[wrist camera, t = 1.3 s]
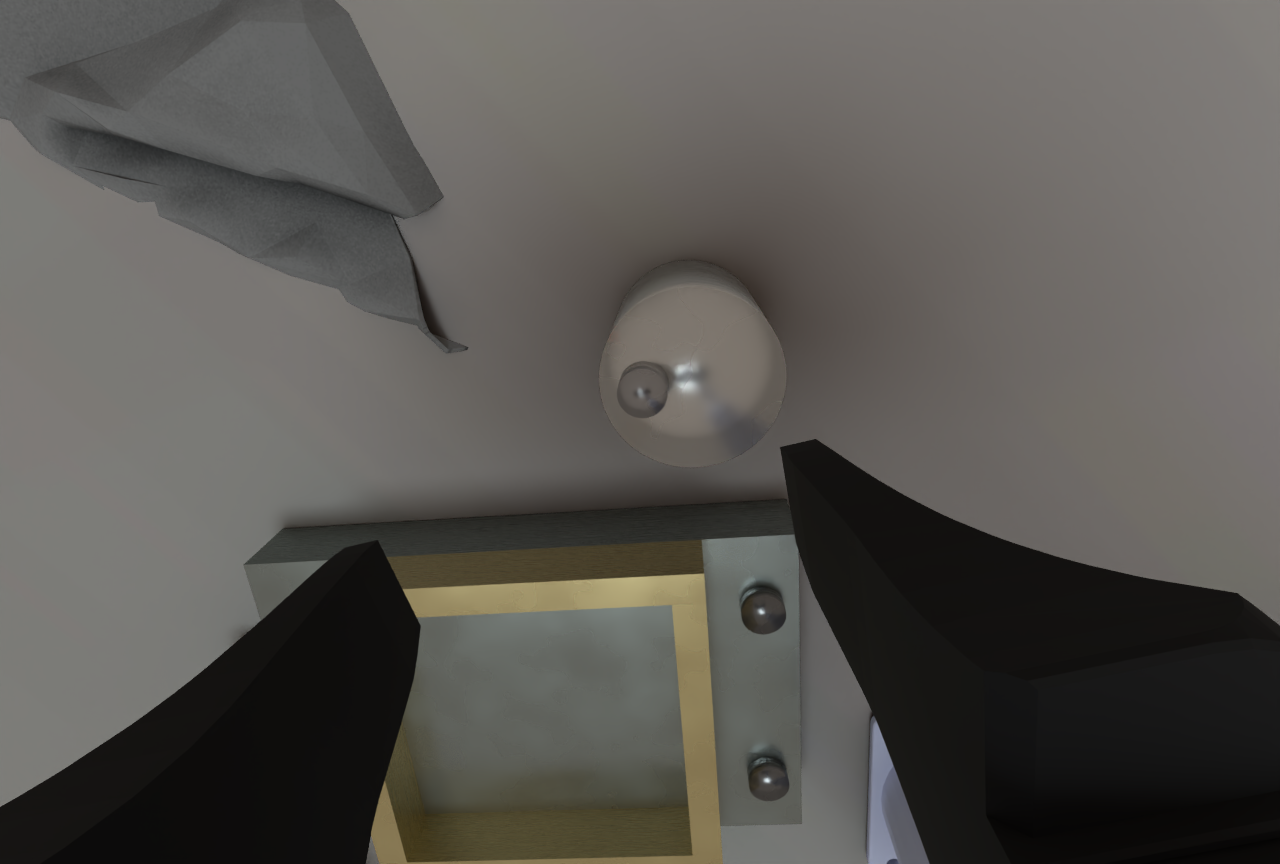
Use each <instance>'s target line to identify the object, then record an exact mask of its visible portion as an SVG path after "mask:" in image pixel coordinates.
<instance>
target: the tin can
mask: <svg viewBox="0 0 1280 864" xmlns="http://www.w3.org/2000/svg"><path fill="white" fill-rule="evenodd" d="M786 380H787V372H786V362H785V357H784V353H783V350H782V347H781V344H780V342H779V339H778V337H777V336H776V334H775V332H774V330H773V328H772V327H771V325H770V324H769V322H768V320H767V319H766V317H765V316H764V314H763V313H762V311H761V309H760V308H759V306H758V305H757V303H756V302H755V300H754V298H753V297H752V295H751V294H750V292H749V291H748V289H747V288H746V287H745V285H744V284H743V283H742V282H741V281H740V280H739V279H738V278H737V277H735V276H734V275H733V274H732V273H730V272H729V271H727V270H725V269H724V268H722V267H720V266H717V265H715V264H712V263H708V262H704V261H698V260H680V261H674V262H670V263H667V264H663V265H661V266H659V267H657V268H655V269H653V270H651V271H650V272H648V273H646V274H645V275H644V276H643V277H641V278H640V279H639V280H638V281H637V282H636V283H635V284H634V285H633V286H632V288H631V289H630V290H629V292H628V293H627V295H626V297H625V298H624V300H623V302H622V304H621V307H620V310H619V312H618V315H617V317H616V320H615V322H614V325H613V327H612V330H611V332H610V335H609V337H608V340H607V343H606V345H605V348H604V350H603V353H602V358H601V362H600V369H599V389H600V395H601V400H602V403H603V406H604V409H605V412H606V414H607V416H608V418H609V420H610V422H611V423H612V425H613V427H614V428H615V430H616V431H617V432H618V433H619V435H620V436H621V437H622V438H623V439H624V440H625V441H626V442H627V443H628V444H629V445H630V446H631V447H633V448H634V449H635V450H637V451H638V452H640V453H641V454H643V455H645V456H647V457H649V458H651V459H653V460H655V461H658V462H660V463H663V464H667V465H671V466H677V467H685V468H698V467H706V466H712V465H716V464H720V463H723V462H725V461H728V460H731V459H733V458H735V457H737V456H739V455H741V454H742V453H744V452H745V451H747V450H748V449H750V448H751V447H752V446H753V445H755V444H756V443H757V442H758V441H759V440H760V439H761V438H762V437H763V436H764V435H765V433H766V432H767V431H768V430H769V428H770V427H771V425H772V424H773V422H774V421H775V419H776V417H777V415H778V413H779V411H780V409H781V406H782V403H783V399H784V395H785V390H786Z"/></svg>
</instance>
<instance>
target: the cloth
mask: <svg viewBox="0 0 1280 864" xmlns="http://www.w3.org/2000/svg"><path fill="white" fill-rule="evenodd" d="M0 118H2V119H6V120H10V121H11V122H12V123H13V124H14V125H15V127H16V128H17V129H18V130H19V131H20V132H21V134H22V135H23V136H24V137H25V138H26V139H27V141H28V142H29V143H30V144H31V145H32V146H33V147H34V148H35V149H36V150H37V151H38V152H39V153H41V154H42V155H44V156H46V157H47V158H49V159H51V160H53V161H54V162H56V163H58V164H60V165H61V166H63V167H65V168H67V169H68V170H70V171H72V172H74V173H75V174H77V175H79V176H81V177H82V178H84V179H86V180H88V181H89V182H91V183H93V184H95V185H96V186H98V187H100V188H102V189H103V190H104V188H103V186H104V187H106V188H108V189H111V190H113V191H115V192H117V193H119V194H121V195H124V196H126V197H128V198H130V199H132V200H134V201H137V202H153V201H155V203H156V207H157V210H158V214H159V216H160V217H162V218H165V219H167V220H169V221H172V222H174V223H176V224H179V225H181V226H183V227H185V228H188V229H190V230H192V231H195V232H197V233H199V234H202V235H204V236H206V237H208V238H211V239H213V240H215V241H218V242H220V243H221V244H223V245H225V246H227V247H228V248H230V249H232V250H233V251H235V252H237V253H239V254H241V255H243V256H246V257H248V258H251V259H253V260H255V261H258V262H260V263H262V264H265V265H267V266H269V267H272V268H274V269H276V270H279V271H281V272H283V273H285V274H288V275H290V276H294V277H297V278H301V279H304V280H308V281H311V282H315V283H318V284H322V285H326V286H329V287H333V288H336V289H339V290H340V292H341V293H342V295H343V296H344V298H345V299H346V301H347V302H349V303H350V304H352V305H354V306H356V307H358V308H360V309H362V310H364V311H366V312H369V313H373V314H376V315H379V316H383V317H386V318H389V319H393V320H397V321H401V322H405V323H409V324H413V325H417V326H418V328H419V329H420V330H421V331H422V332H423V333H424V334H425V335H426V336H427V337H428V338H430V339H431V340H432V341H433V342H434V343H435V344H436V345H437V346H438V347H439V348H441V349H442V350H443V351H444V352H445V353H452V352H458V351H464V350H467V349H468V347H466V346H463V345H461V344H458V343H456V342H453V341H450V340H448V339H445V338H443V337H440V336H437V335H435V334H432V333H431V332H430V331H429V329H428V327H427V325H426V322H425V320H424V317H423V312H422V307H421V302H420V297H419V292H418V287H417V282H416V277H415V272H414V267H413V262H412V258H411V256H410V253H409V251H408V249H407V246H406V244H405V242H404V240H403V237H402V235H401V233H400V231H399V229H398V227H397V225H396V222H395V220H394V218H393V216H392V215H394V216H397V217H400V218H403V219H405V218H409V217H413V216H416V215H418V214H420V213H421V212H423V211H424V210H426V209H427V208H428V207H430V206H431V205H433V204H434V203H436V202H437V201H439V200H440V199H441V198H443V197H444V196H443V194H442V193H441V191H440V189H439V187H438V185H437V184H436V182H435V180H434V178H433V177H432V175H431V173H430V171H429V169H428V168H427V166H426V164H425V162H424V161H423V159H422V158H421V156H420V154H419V153H418V151H417V150H416V148H415V146H414V145H413V143H412V141H411V139H410V137H409V135H408V133H407V131H406V129H405V127H404V125H403V123H402V121H401V119H400V117H399V115H398V113H397V111H396V109H395V107H394V105H393V103H392V100H391V98H390V96H389V94H388V92H387V90H386V88H385V86H384V84H383V82H382V80H381V78H380V76H379V74H378V72H377V70H376V68H375V66H374V64H373V62H372V60H371V57H370V55H369V53H368V51H367V49H366V47H365V45H364V43H363V41H362V39H361V37H360V35H359V33H358V31H357V29H356V27H355V25H354V23H353V21H352V19H351V17H350V15H349V13H348V12H347V11H346V10H345V9H344V8H343V7H341V6H340V5H339V4H338V3H337V2H336V1H335V0H0Z"/></svg>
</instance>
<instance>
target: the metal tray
mask: <svg viewBox="0 0 1280 864" xmlns="http://www.w3.org/2000/svg"><path fill="white" fill-rule="evenodd" d="M375 540H378V541H379V543H380V545H381V547H382V549H383V551H384V553H385V555H386V557H387V559H388V561H389V563H390V565H391V567H392V569H393V571H394V573H395V575H396V577H397V579H398V581H399V583H400V585H401V587H402V589H403V591H404V593H405V595H406V597H407V599H408V601H409V603H410V605H411V607H412V609H413V611H414V613H415V615H416V617H417V619H418V621H419V623H420V625H421V630H420V638H419V647H418V655H417V662H416V668H415V675H414V680H413V684H412V687H411V691H410V695H409V698H408V702H407V705H406V709H405V712H404V716H403V719H402V723H401V726H400V730H399V733H398V737H397V740H396V743H395V747H394V750H393V753H392V757H391V760H390V764H389V767H388V771H387V774H386V777H385V781H384V784H383V788H382V791H381V794H380V798H379V802H378V806H377V810H376V814H375V818H374V822H373V826H372V831H371V836H372V840H373V843H374V847H375V850H376V853H377V857H378V860H379V864H723V862H722V846H721V830H720V826H741V825H778V824H802V807H801V719H800V630H799V550H798V547H797V545H796V540H795V534H794V528H793V522H792V516H791V511H790V508H789V506H788V503H787V500H786V499H784V500H767V501H750V502H733V503H715V504H698V505H681V506H664V507H647V508H630V509H613V510H596V511H579V512H562V513H545V514H528V515H511V516H494V517H477V518H460V519H442V520H425V521H408V522H391V523H374V524H357V525H340V526H323V527H306V528H289V529H282V530H281V531H280V532H279V533H278V534H277V535H275V536H274V537H273V538H272V539H271V540H270V541H269V542H268V543H267V544H266V545H265V546H263V547H262V548H261V549H260V550H259V551H258V552H257V553H256V554H255V555H254V556H253V557H252V558H250V559H249V560H248V561H247V562H246V563H245V564H244V568H245V571H246V574H247V578H248V581H249V584H250V587H251V590H252V593H253V597H254V600H255V603H256V606H257V609H258V612H259V616H260V619H261V620H262V619H263V618H265V617H266V616H267V615H268V614H269V613H270V612H271V611H272V610H273V609H274V608H276V607H277V606H278V605H279V604H280V603H281V602H282V601H283V600H284V599H285V598H286V597H288V596H289V595H290V594H291V593H292V592H293V591H294V590H295V589H296V588H297V587H299V586H300V585H301V584H302V583H303V582H304V581H305V580H306V579H307V578H309V577H310V576H311V575H312V574H313V573H314V572H315V571H316V570H318V569H319V568H320V567H321V566H322V565H323V564H324V563H326V562H327V561H328V560H329V559H330V558H332V557H333V556H334V555H335V554H337V553H338V552H340V551H341V550H342V549H344V548H345V547H349V546H353V545H358V544H362V543H366V542H371V541H375Z"/></svg>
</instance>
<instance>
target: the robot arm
mask: <svg viewBox="0 0 1280 864" xmlns="http://www.w3.org/2000/svg"><path fill="white" fill-rule="evenodd" d="M780 449H781V455H782V461H783V467H784V473H785V479H786V485H787V492H788V498H789V504H790V510H791V516H792V522H793V528H794V534H795V540H796V545H797V547H798V550H799V553H800V556H801V559H802V562H803V565H804V568H805V571H806V573H807V576H808V579H809V582H810V585H811V587H812V590H813V593H814V595H815V597H816V599H817V601H818V603H819V605H820V607H821V609H822V611H823V613H824V615H825V617H826V619H827V621H828V623H829V625H830V627H831V629H832V631H833V633H834V635H835V637H836V639H837V641H838V643H839V645H840V647H841V649H842V651H843V653H844V655H845V657H846V659H847V661H848V663H849V665H850V667H851V669H852V671H853V673H854V675H855V677H856V679H857V681H858V683H859V685H860V687H861V689H862V691H863V693H864V695H865V697H866V699H867V701H868V703H869V706H870V708H871V710H872V712H873V715H874V716H873V717H872V719H871V722H870V754H869V787H868V820H867V852H866V857H867V861H868V864H1280V626H1279V625H1278V624H1277V623H1276V622H1275V621H1273V620H1272V619H1271V618H1269V617H1268V616H1267V615H1266V614H1264V613H1263V612H1262V611H1260V610H1259V609H1258V608H1257V607H1255V606H1254V605H1253V604H1251V603H1250V602H1249V601H1247V600H1246V599H1244V598H1243V597H1242V596H1240V595H1239V594H1238V593H1233V592H1227V591H1221V590H1214V589H1208V588H1202V587H1196V586H1190V585H1184V584H1178V583H1172V582H1166V581H1160V580H1154V579H1148V578H1143V577H1138V576H1133V575H1129V574H1124V573H1120V572H1116V571H1111V570H1107V569H1103V568H1098V567H1094V566H1089V565H1086V564H1082V563H1078V562H1074V561H1071V560H1067V559H1063V558H1060V557H1056V556H1053V555H1050V554H1046V553H1043V552H1040V551H1037V550H1034V549H1030V548H1027V547H1024V546H1021V545H1018V544H1015V543H1012V542H1009V541H1006V540H1003V539H1000V538H998V537H995V536H992V535H990V534H987V533H985V532H982V531H980V530H977V529H975V528H972V527H970V526H968V525H965V524H963V523H960V522H958V521H955V520H953V519H951V518H949V517H947V516H944V515H942V514H940V513H938V512H936V511H934V510H932V509H930V508H928V507H926V506H924V505H922V504H920V503H918V502H916V501H914V500H912V499H910V498H908V497H907V496H905V495H903V494H901V493H899V492H898V491H896V490H894V489H892V488H891V487H889V486H887V485H886V484H884V483H882V482H881V481H879V480H877V479H876V478H874V477H872V476H871V475H869V474H868V473H866V472H865V471H863V470H861V469H860V468H858V467H857V466H855V465H854V464H852V463H851V462H849V461H848V460H846V459H845V458H843V457H842V456H840V455H839V454H837V453H836V452H835V451H833V450H832V449H830V448H829V447H827V446H826V445H824V444H822V443H821V442H819V441H818V440H816V439H814V440H810V441H805V442H801V443H797V444H792V445H788V446H783V447H780ZM420 630H421V625H420V623H419V621H418V619H417V617H416V615H415V613H414V611H413V609H412V607H411V605H410V603H409V601H408V599H407V597H406V595H405V593H404V591H403V589H402V587H401V585H400V583H399V581H398V579H397V577H396V575H395V573H394V571H393V569H392V567H391V565H390V563H389V561H388V559H387V557H386V555H385V553H384V551H383V549H382V547H381V545H380V543H379V541H378V540H375V541H371V542H366V543H362V544H358V545H353V546H349V547H345V548H344V549H342V550H341V551H340V552H338V553H337V554H335V555H334V556H333V557H332V558H330V559H329V560H328V561H327V562H326V563H324V564H323V565H322V566H321V567H320V568H319V569H318V570H316V571H315V572H314V573H313V574H312V575H311V576H310V577H309V578H307V579H306V580H305V581H304V582H303V583H302V584H301V585H300V586H299V587H297V588H296V589H295V590H294V591H293V592H292V593H291V594H290V595H289V596H288V597H286V598H285V599H284V600H283V601H282V602H281V603H280V604H279V605H278V606H277V607H276V608H274V609H273V610H272V611H271V612H270V613H269V614H268V615H267V616H266V617H265V618H263V619H262V620H261V621H260V622H259V623H258V624H257V625H256V626H255V627H253V628H252V629H251V630H250V631H249V632H248V633H246V634H245V635H244V636H243V637H242V638H241V639H239V640H238V641H237V642H236V643H235V644H234V645H232V646H231V647H230V648H229V649H228V650H227V651H225V652H224V653H223V654H222V655H221V656H220V657H218V658H217V659H216V660H215V661H214V662H213V663H211V664H210V665H209V666H208V667H207V668H206V669H204V670H203V671H202V672H201V673H199V674H198V675H197V676H196V677H194V678H193V679H192V680H191V681H189V682H188V683H187V684H186V685H184V686H183V687H182V688H180V689H179V690H178V691H177V692H175V693H174V694H173V695H171V696H170V697H169V698H167V699H166V700H165V701H163V702H162V703H161V704H159V705H158V706H156V707H155V708H154V709H152V710H151V711H150V712H148V713H147V714H146V715H144V716H143V717H142V718H140V719H139V720H137V721H136V722H134V723H133V724H132V725H130V726H129V727H127V728H126V729H124V730H123V731H121V732H120V733H118V734H117V735H115V736H114V737H112V738H111V739H109V740H108V741H106V742H105V743H103V744H102V745H100V746H99V747H97V748H95V749H94V750H92V751H91V752H89V753H88V754H86V755H85V756H83V757H82V758H80V759H79V760H77V761H76V762H74V763H73V764H71V765H70V766H68V767H67V768H65V769H64V770H62V771H60V772H59V773H57V774H55V775H54V776H52V777H51V778H49V779H47V780H46V781H44V782H42V783H40V784H39V785H37V786H35V787H34V788H32V789H30V790H29V791H27V792H25V793H24V794H22V795H20V796H19V797H17V798H15V799H13V800H12V801H10V802H8V803H6V804H5V805H3V806H1V807H0V864H366V859H367V853H368V848H369V842H370V837H371V831H372V826H373V822H374V818H375V814H376V810H377V806H378V802H379V798H380V794H381V791H382V788H383V784H384V781H385V777H386V774H387V771H388V767H389V764H390V760H391V757H392V753H393V750H394V747H395V743H396V740H397V737H398V733H399V730H400V726H401V723H402V719H403V716H404V712H405V709H406V705H407V702H408V698H409V695H410V691H411V687H412V684H413V680H414V675H415V668H416V662H417V655H418V647H419V638H420Z"/></svg>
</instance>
